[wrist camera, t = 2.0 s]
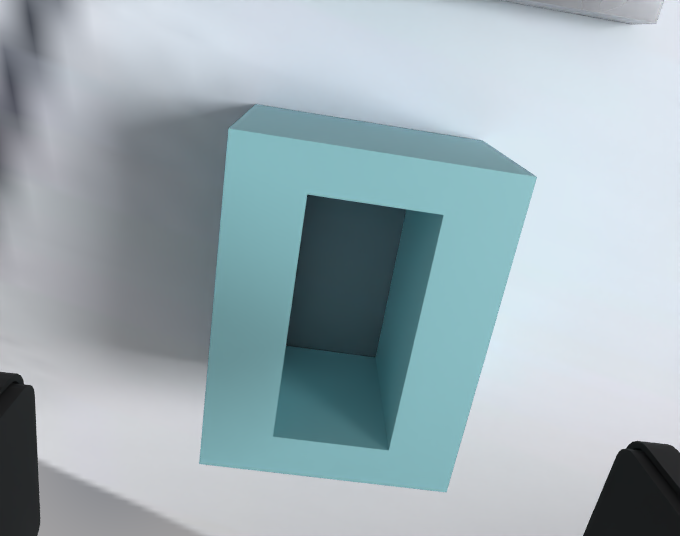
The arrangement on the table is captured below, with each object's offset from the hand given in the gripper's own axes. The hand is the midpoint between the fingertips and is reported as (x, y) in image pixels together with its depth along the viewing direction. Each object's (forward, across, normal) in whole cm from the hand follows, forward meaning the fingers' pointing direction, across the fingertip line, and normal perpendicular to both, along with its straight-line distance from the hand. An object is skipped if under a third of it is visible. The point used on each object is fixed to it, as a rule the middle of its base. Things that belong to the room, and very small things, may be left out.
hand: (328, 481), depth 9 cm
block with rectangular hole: (+10, -1, 0) cm, 11 cm away
